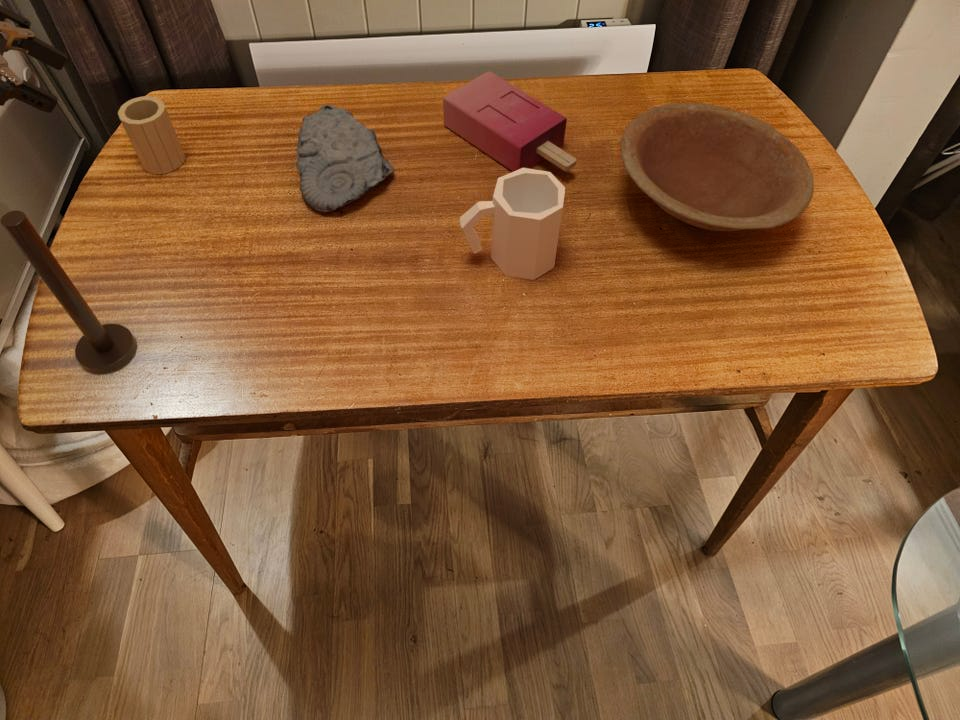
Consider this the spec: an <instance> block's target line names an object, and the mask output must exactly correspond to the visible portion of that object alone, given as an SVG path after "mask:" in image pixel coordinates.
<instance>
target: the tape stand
mask: <svg viewBox="0 0 960 720" xmlns="http://www.w3.org/2000/svg"><path fill="white" fill-rule="evenodd" d="M0 225H1V226H2V227H3V228H4V230H5V231H6V233H7V234H8V235H9V237H10V239H12V241H13V242H14V243H15V245H16V246H17V248H18V249H19V250H20V251H21V253H22V254H23V255H24V257H25V258H26V260H27V261H28V262H29V264H30V266H31V267H32V268H33V269H34V271H35V272H36V273H37V275H38V276H39V277H40V278H41V280H42V282H43V283H44V284H45V285H46V286H47V288H48V289H49V291H50V292H51V294H52V295H53V296H54V297H55V299H56V300H57V301H58V302H59V304H60V305H61V307H62V308H63V309H64V310H65V312H66V313H67V315H68V316H69V318H70V319H71V320H72V322H73V323H74V324H75V326H76V327H77V328H78V329H79V331H80V332H81V334H82V336H81V337H80V338H79V339H78V341H77V343H76V346H75V349H74V356H75V360H77V362H78V363H79V365H80V366H81V367H82V368H83V369H84V370H85V371H86V372H89V373H91V374H94V375H106V374H111V373H114V372H117V371H118V370H121V369H122V368H124V367H125V366H126V365H128V364H129V363H130V362H131V360H132V359H133V358H134V357H135V354H136V352H137V347H138V345H137V344H138V343H137V340H136V337H134V335H133V333H132V332H131V330H130V329H129V328H128V327H126V326H125V325H122V324H119V323H105V324H102V323H101V321H100V320H99V318H98V317H97V315H96V314H95V313H94V311H93V310H92V309H91V307H90V306H89V303H87V301H86V300H85V298H84V297H83V295H82V294H81V293H80V291H79V290H78V288H77V287H76V285H75V284H74V283H73V281H72V279H71V278H70V277H69V276H68V274H67V272H66V271H65V269H64V268H63V267H62V265H61V264H60V262H59V261H58V260H57V258H56V257H55V255H54V254H53V253H52V251H51V250H50V248H49V247H48V245H47V243H45V241H44V239H43V238H42V236H41V235H40V234H39V232H38V230H37V229H36V228H35V226H34V225H33V224H32V222H31V221H30V220H29V218H28V217H27V215H26V213H24V211H21V210H18V209H17V210H15V209H14V210H11V211H8V212H6V213H4V214H3V215H2V217H0Z"/></svg>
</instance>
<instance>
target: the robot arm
mask: <svg viewBox="0 0 960 720" xmlns="http://www.w3.org/2000/svg"><path fill="white" fill-rule="evenodd" d="M5 20H9V21H5ZM10 21H11V22H13V23H15V24H16V25H15V26H14V25H13V24H12V23H11V22H10ZM31 25H32V22H31V21H30V20H29V18H27V17H25V16H22V15H21V14H19V13H18V12H15V11H14V10H11V9H9V8H7V7H5V6H3V5H1V4H0V106H1V107H2V106H5V104H6V102H9V100H13V99H14V100H17V101H19V102H22V103H25V104H26V105H28V106H31V107H33V108H34V109H37V110H38V111H41V112H45V113H49V114H51V113H53V112H54V109H55V108H56V106H57V104H58V100H59V98H58V97H57V95H56V94H53V93H52V92H49V91H47V90H45V89H43V88H41V87H39V86H37V85H35V84H33V83H31V82H30V81H27V80H25V79H23V80H22V79H21V78H20V77H19V76H18V75H17V74H16V73H15V72H14V71H13V70H12V69H11V68H10V67H9V62H8V60H7V59H6V58H5V57H4V53H7V52H9V51H18V52H27V53H26V54H27V55H28V56H30V57H32V58H33V59H36V60H37V61H39V62H41V63H43V64H45V65H47V66H49V67H51V68H53V69H55V70H57V71H62V70H63V68H64V67H65V65H66V63H67V61H68V55H67V54H66V53H64V52H63V51H61V50H60V49H59V48H57V47H54V46H53V45H51V44H49V43H48V42H45V41H44V40H42V39H40V38H39V37H36V36H35V32H33V31H32V30H31ZM3 78H4V79H5V81H4V80H3Z"/></svg>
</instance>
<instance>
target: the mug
mask: <svg viewBox="0 0 960 720" xmlns="http://www.w3.org/2000/svg"><path fill="white" fill-rule="evenodd" d="M565 194H566V187H565V186H564V185H563V184H562V182H561V181H560V180H559V179H558V178H557V177H556V176H555V175H554V174H553V173H552V172H551V171H547V170H546V171H545V170H540V169H535V168H530V169H528V168H521V169H519V170H516V171H514V172H513V171H511V172H508V173H507V174H504V175H502V176H500V177H498V178H497V180H496V184H495V187H494V191H493V194H492V200H482V201H479V200H478V201H477V202H476V203H475V204H474V205H472V206H471V207H470V208H469V209H468V210H467V211H466V212H464V213H463V214H462V215H461V216H460V217H459V225H460V227H461V230H462V233H463V234H464V236H465V238H466V240H467V243H468V245H469V247H470V249H471V251H472V253H473V254H477V253H479V252H482V250H483V249H482V243H481V240H480V237H479V236H478V234H477V232H476V230H475V228H474V227H475V226H476V225H477V224H478V223H479V221H481V219H482V218H484V217H485V216H490V215H491V235H490V236H491V238H490V240H491V241H490V260H492V261H493V262H494V264H495V266H497V268H498V269H499V270H500V271H501V273H503V275H504V276H506V277H511V278H518V279H524V280H530V281H534V280H536V279H538V278H540V277H541V276H543V275H544V274H546V273H548V272H549V271H551V270H552V269H554V268H555V265H556V264H555V263H556V256H557V250H558V245H559V236H560V231H561V223H562V216H563V210H564V201H565Z"/></svg>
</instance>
